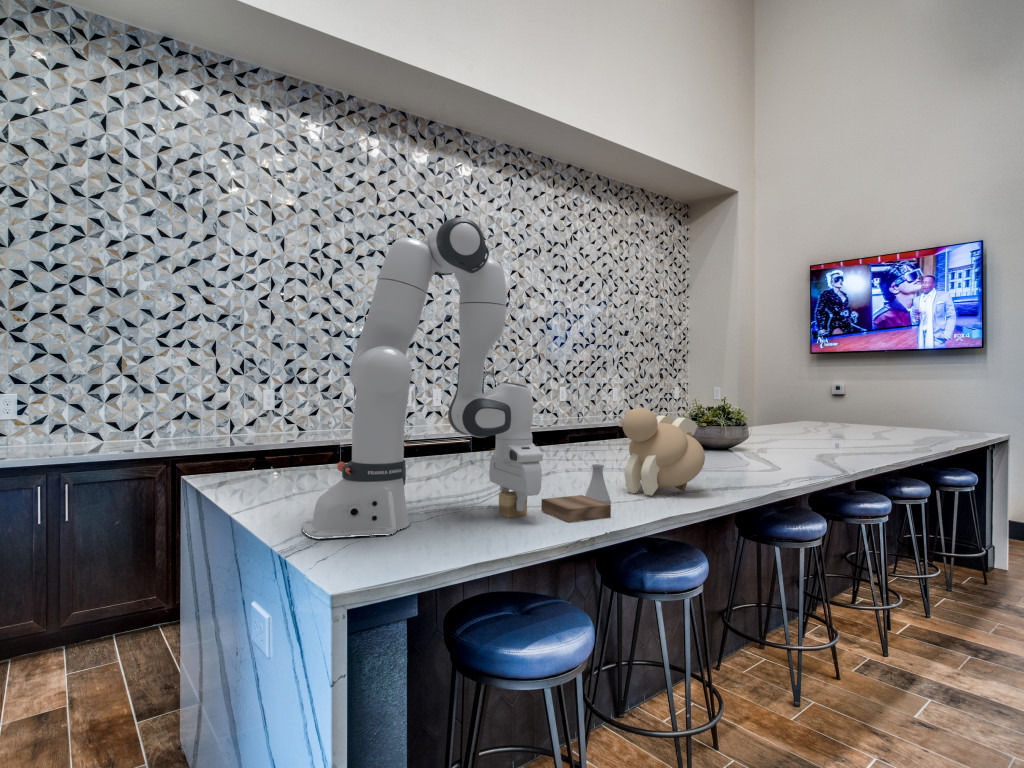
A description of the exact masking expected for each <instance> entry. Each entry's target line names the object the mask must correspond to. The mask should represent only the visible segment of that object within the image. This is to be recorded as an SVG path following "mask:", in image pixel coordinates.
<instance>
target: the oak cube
mask: <svg viewBox="0 0 1024 768" xmlns="http://www.w3.org/2000/svg"><path fill="white" fill-rule="evenodd" d="M516 493H517V492H515V491H513V490H509V492H499V493H498V514H500V515H502V516H504V517H506V518H507V519H509V517H510V518H517V516H519V517H525V516H526V515H527V516H528V497H527V498H526V500H525V503H524V510H523V511H517V510H515V503H516V502H517V498H518V497H517V496H516Z"/></svg>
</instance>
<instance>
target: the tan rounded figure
mask: <svg viewBox="0 0 1024 768" xmlns="http://www.w3.org/2000/svg"><path fill="white" fill-rule="evenodd" d="M623 414H624V418H622V417H621V418H620V417H619V418H618V420H617V426H618V427H620V428H621V427H622V430H623V431H622V432H624V435H625V436H626V437H627V438H628V439H629V440H630V443H629V446H628V451H629V455H630V456H629V458H628V460H627V461H626V464H625V468H624V481H625V487H626V490H627V493H628V492H630V493H629V494H631V493H634V494H633V495H636V494H637V492H638V491H639V490H640V488H641V487H642V491H643V494H644V495H647V496H653V495H654V493H656V491H657V489H658V488H663V489H670V488H674V489H677V490H680V491H683V492H685V491H686V487H687V486H688V485H687V484H688V483H690V482H691V481H692V480H694V479H695V478H696V477H697V476H698V475H699V474H700V473H701V471H702V469H703V468H704V465H705V460H706V454H705V450H704V448H703V446H702V445H701V443H700V442H699V441H698V439H696V438H695V437H693V436H694V435H695V433H696V431H697V429H698V427H699V425H698V423H696V421H694V420H692V419H691V418H689V417H688V418H687V417H677V418H676V419H675V418H673V417H672V416H668V415H657V416H656V414H655V413H654V412H653V411H652V410H650V409H648V408H646V407H636V408H635V407H634V408H633V409H631V410H629V408H628V407H625V408H624V409H623ZM635 493H636V494H635Z"/></svg>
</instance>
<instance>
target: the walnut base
mask: <svg viewBox="0 0 1024 768" xmlns="http://www.w3.org/2000/svg"><path fill="white" fill-rule="evenodd" d="M542 511H543V513H545V514H547V513H548V514H547V515H549V514H550V516H552V515H553V516H552V517H554V516H555V517H554V518H556V517H557V519H559V520H562V521H564V522H566V523H574V522H573V521H576V522H581V521H580V520H584V521H591V519H592V520H599V518H601V519H607V518H608V517H609V518H611V513H612V505H611V504H610V503H609V504H607V503H604V502H601V501H598V500H595V499H592V498H589V497H586V496H585V495H583V494H581V495H580V494H579V495H569V496H559V497H549V498H547V497H546V498H541V512H542ZM609 518H608V519H609Z"/></svg>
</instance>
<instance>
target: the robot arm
mask: <svg viewBox="0 0 1024 768" xmlns="http://www.w3.org/2000/svg"><path fill="white" fill-rule="evenodd" d="M483 233H484V232H483V231H482V230H481V228H480V226H479V225H478V224H477V223H476V222H475V221H473V220H472V219H469V218H466V217H453V218H449V219H448V220H446V221H444V222H443V223H442V224H439V225H437V226H436V227H434V228H433V229H432V230H431V231H430V232H429V233H428V234H427V235H425V236H424V237H423V238H422V240H421V239H417V238H413V237H401V238H398V239H396V240H395V241H393V243H392V244H391V246H390V248H389V249H388V252H387V254H386V256H385V258H384V260H383V264H382V266H381V268H380V271H379V275H378V277H377V281H376V285H375V288H374V291H373V296H372V299H371V303H370V307H369V310H368V313H367V316H366V319H365V322H364V324H363V327H362V330H361V333H360V336H359V338H358V342H357V344H356V347H355V350H354V353H353V356H352V359H351V362H350V366H349V379H350V382H351V383H352V385H353V386H354V388H355V389H356V391H355V392H356V393H355V405H354V412H353V420H352V424H351V426H352V428H351V431H352V432H351V436H352V438H351V442H352V443H351V460H350V461H348V462H347V463H346V462H344V461H339V462H338V463H337V464H336V469H337V470H338V471H339V472H340V473H341V478H342V479H341V480H339V481H338V482H337V483H336V484H334V485H333V486H332V487H330V488H329V489H328V490H327V491H326V492H324V493H323V494H321V495H320V496H319V497H318V499H317V500H316V503H315V506H314V510H313V515H312V516H313V517H312V518H311V519H307V520H305V521H304V522H303V524H302V525H301V526H302V527H301V529H302V528H303V530H304V532H305V533H307V534H308V535H310V536H314V537H333V536H351V535H372V534H373V535H374V534H392V533H394V532H396V531H397V530H398V531H400V529H401V530H403V528H404V529H405V528H408V527H409V526H410V525H411V521H410V517H409V514H408V508H407V503H406V502H407V501H406V496H405V495H406V493H405V485H406V480H407V467H406V460H405V459H404V456H405V455H404V453H405V452H404V451H405V447H404V445H405V423H406V422H405V421H406V415H407V408H408V402H409V394H410V386H411V385H410V384H411V380H412V376H413V371H412V370H413V369H412V365H411V362H410V361H409V359H408V357H407V356H406V355H407V353H408V350H409V348H410V345H411V343H412V340H413V338H414V335H415V334H416V332H417V330H418V327H419V323H420V320H421V318H422V313H423V309H424V306H425V301H426V298H427V294H428V290H429V286H430V281H431V280H432V278H433V276H448V275H452V274H454V277H455V278H456V280H457V282H458V287H459V300H458V301H459V304H458V326H459V327H458V328H459V359H458V367H457V369H458V371H457V382H456V383H457V384H456V389H455V394H454V396H453V399H452V400H451V402H450V405H449V407H448V413H447V416H448V423H449V424H450V426H451V427H452V428H453V430H454V431H456V432H457V433H458V434H461V435H464V436H465V435H466V436H470V437H475V438H480V439H481V438H487V437H490V436H495V448H494V450H493V453H492V454H491V456H490V460H489V461H490V462H489V472H488V477H489V481H490V483H493V484H496V485H498V486H499V490H500V492H510V491H515V492H517V493H516V496H517V497H518V498H517V502H516V503H515V510H517V511H523V510H524V503H525V500H526V498H527V499H528V497H531V496H538V495H539V494H540V493H541V490H542V476H543V475H542V472H543V471H542V469H543V468H542V465H541V463H540V462H542V461H543V457H544V456H543V455H544V454H543V452H542V451H541V450H540V449H539V448H538V447H537V446H536V445H535V444H534V443H533V433H532V424H533V421H534V411H533V410H534V409H533V405H534V403H533V396H532V392H531V390H530V389H529V387H528V386H527V385H524V384H521V383H515V382H510V381H503V382H499V384H498V385H496V386H495V387H494V388H492V389H490V390H488V391H486V392H483V386H484V385H483V383H484V373H485V372H484V371H485V362H486V358H487V357H488V356H487V355H488V353H489V352H490V351H491V349H492V347H493V346H494V345H495V343H496V342H497V341H498V340H499V339H500V338H501V337H502V336H503V331H504V329H505V323H506V317H507V288H506V279H505V271H504V268H503V266H502V264H500V263H499V261H497V260H495V259H494V258H493V259H492V258H489V256H490V251H489V248H488V246H487V244H486V239H485V237H484V236H485V235H484V234H483ZM398 531H397V532H398ZM397 532H396V533H397ZM394 534H395V533H394ZM392 535H393V534H392Z"/></svg>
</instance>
